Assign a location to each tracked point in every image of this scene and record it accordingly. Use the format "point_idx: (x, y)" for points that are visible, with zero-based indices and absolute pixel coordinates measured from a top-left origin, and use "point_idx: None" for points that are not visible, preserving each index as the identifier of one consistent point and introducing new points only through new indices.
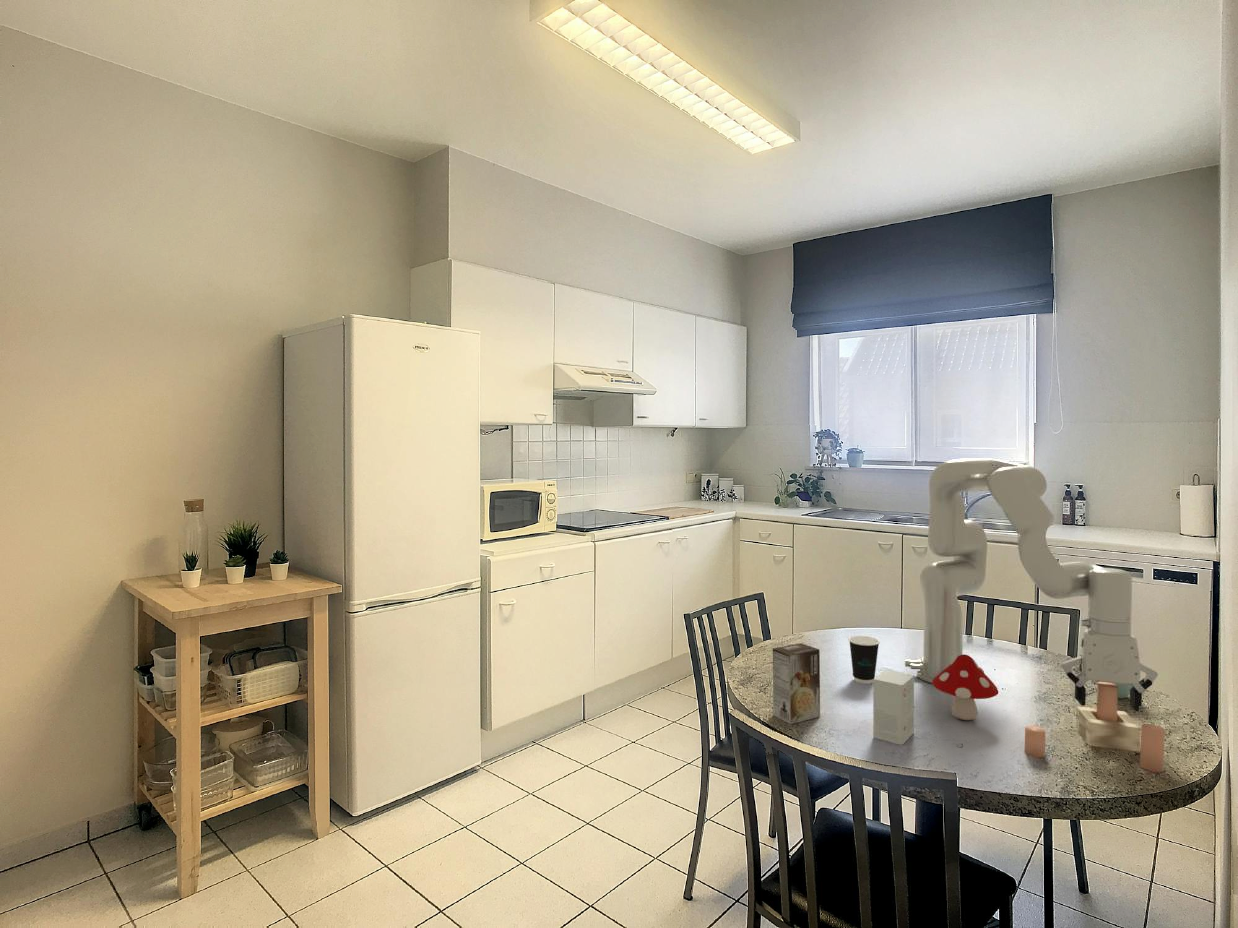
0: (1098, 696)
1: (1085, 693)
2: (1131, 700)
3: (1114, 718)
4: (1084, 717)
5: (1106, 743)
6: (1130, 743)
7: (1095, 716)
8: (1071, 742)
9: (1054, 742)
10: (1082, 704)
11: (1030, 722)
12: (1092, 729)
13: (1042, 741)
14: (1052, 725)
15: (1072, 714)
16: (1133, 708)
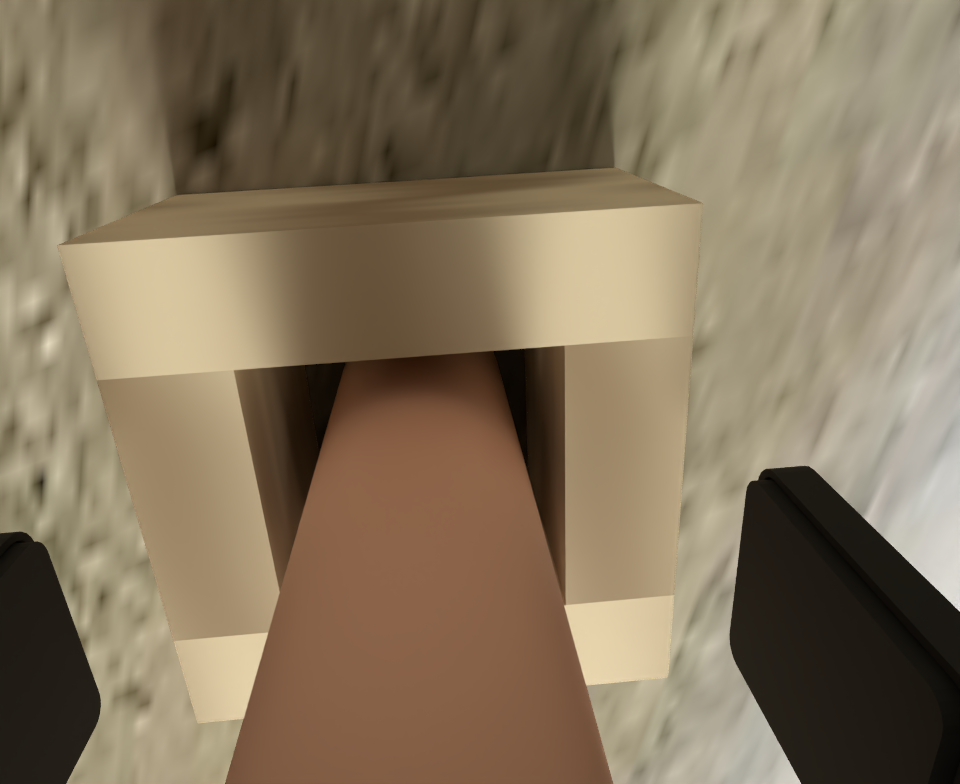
0: (577, 660)
1: (867, 613)
2: (28, 747)
3: (351, 426)
4: (681, 402)
5: (467, 180)
6: (241, 199)
7: None
8: (750, 190)
9: (914, 125)
10: (802, 467)
11: (928, 517)
12: (632, 194)
13: None
14: None
15: None
16: (51, 590)
